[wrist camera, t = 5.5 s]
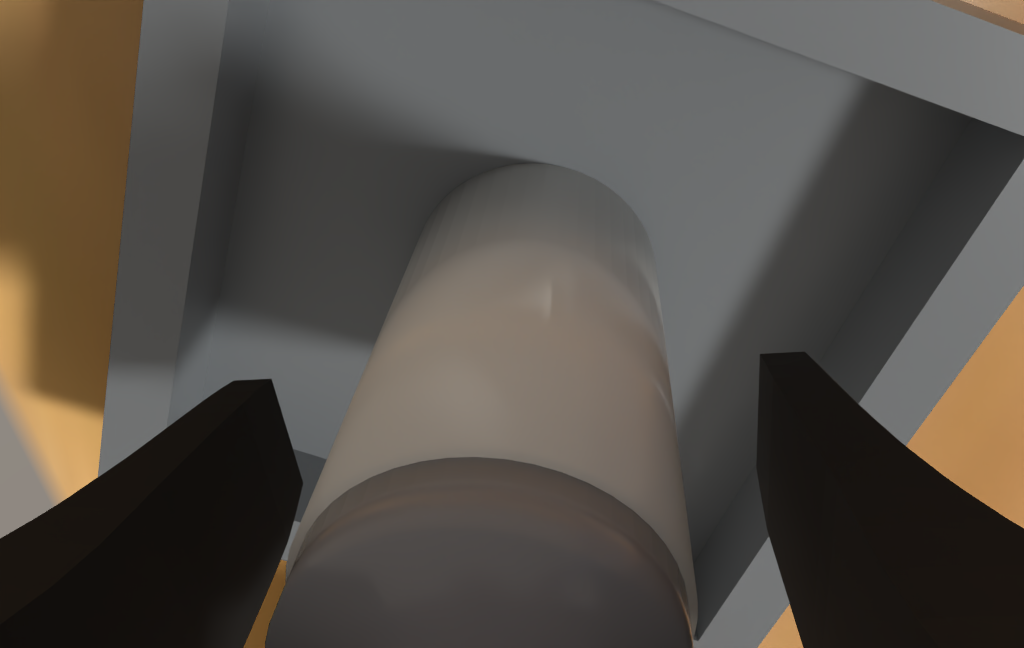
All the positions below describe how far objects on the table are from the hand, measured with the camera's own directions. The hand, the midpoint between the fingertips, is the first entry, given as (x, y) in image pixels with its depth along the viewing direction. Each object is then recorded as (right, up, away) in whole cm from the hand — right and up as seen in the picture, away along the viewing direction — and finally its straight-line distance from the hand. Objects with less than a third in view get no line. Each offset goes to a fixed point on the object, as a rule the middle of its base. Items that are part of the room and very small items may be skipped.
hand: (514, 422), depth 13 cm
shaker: (0, +2, +4) cm, 4 cm away
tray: (0, +3, +5) cm, 5 cm away
